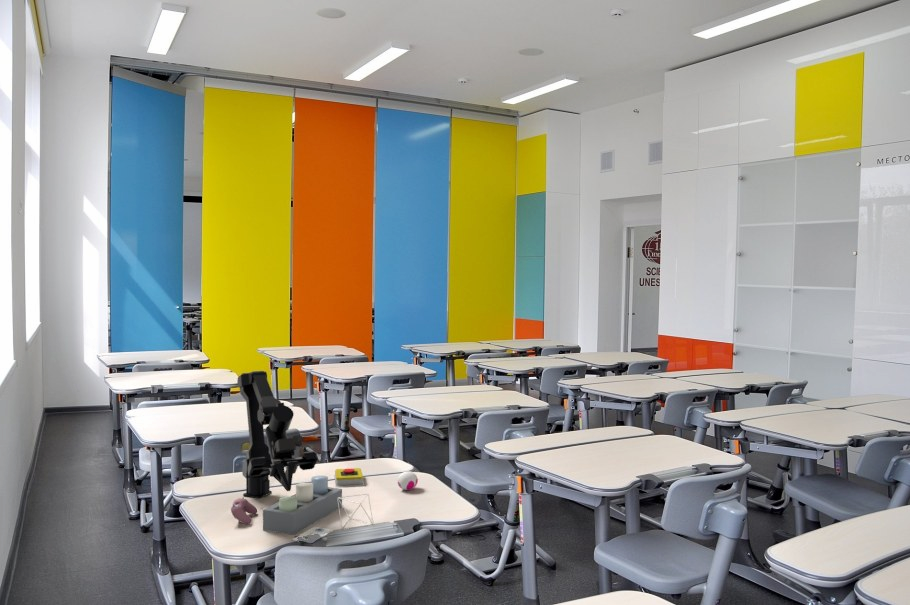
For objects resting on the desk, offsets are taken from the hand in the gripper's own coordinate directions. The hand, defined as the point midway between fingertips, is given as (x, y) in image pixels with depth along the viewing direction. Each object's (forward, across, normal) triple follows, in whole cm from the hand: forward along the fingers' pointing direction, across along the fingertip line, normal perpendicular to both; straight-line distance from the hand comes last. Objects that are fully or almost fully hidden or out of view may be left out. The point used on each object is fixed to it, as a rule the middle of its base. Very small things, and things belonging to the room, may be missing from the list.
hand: (289, 490), depth 190 cm
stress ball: (-4, +45, +19) cm, 49 cm away
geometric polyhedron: (+12, +17, +3) cm, 21 cm away
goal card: (+14, +4, +1) cm, 14 cm away
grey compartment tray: (+3, +6, +12) cm, 13 cm away
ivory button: (0, +6, +9) cm, 11 cm away
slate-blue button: (-3, +12, +12) cm, 18 cm away
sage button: (+5, 0, +6) cm, 8 cm away
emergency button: (-17, +31, +33) cm, 49 cm away
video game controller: (-2, -9, +17) cm, 19 cm away
